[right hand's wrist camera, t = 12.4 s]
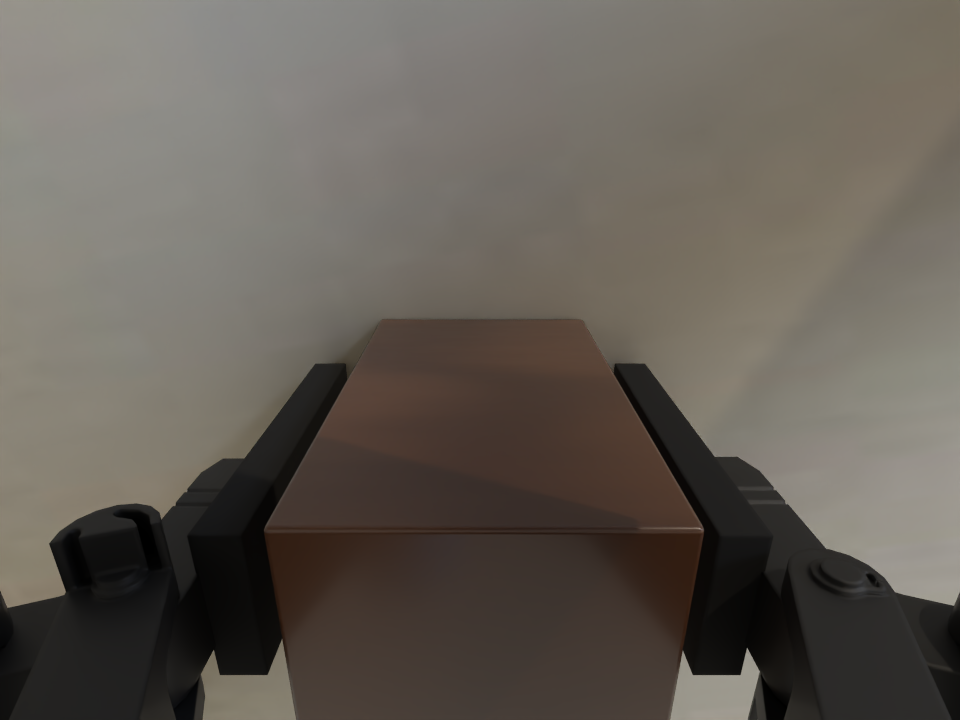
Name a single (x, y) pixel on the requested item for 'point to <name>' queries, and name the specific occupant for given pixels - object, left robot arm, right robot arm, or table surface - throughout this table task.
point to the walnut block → (483, 536)
